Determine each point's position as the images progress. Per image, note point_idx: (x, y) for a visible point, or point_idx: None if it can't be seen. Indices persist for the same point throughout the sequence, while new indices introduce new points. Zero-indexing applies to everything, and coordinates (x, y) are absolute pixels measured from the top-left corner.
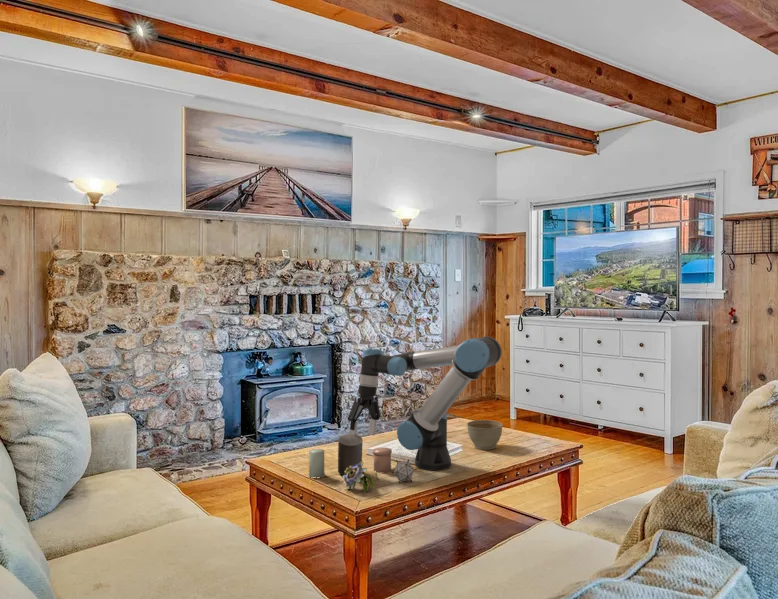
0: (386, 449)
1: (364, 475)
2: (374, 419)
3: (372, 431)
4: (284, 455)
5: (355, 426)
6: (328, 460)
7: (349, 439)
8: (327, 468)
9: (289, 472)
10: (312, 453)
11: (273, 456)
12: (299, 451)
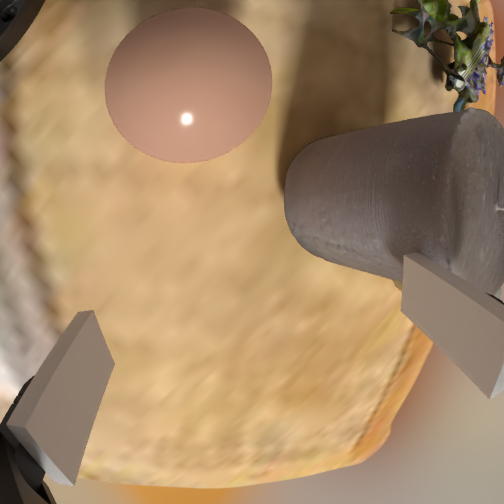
0: (148, 68)
1: (448, 19)
2: (23, 448)
3: (87, 346)
4: (300, 468)
5: (492, 304)
6: (253, 388)
7: (499, 211)
8: (334, 313)
9: (415, 348)
10: (499, 293)
11: (322, 468)
12: (246, 479)
